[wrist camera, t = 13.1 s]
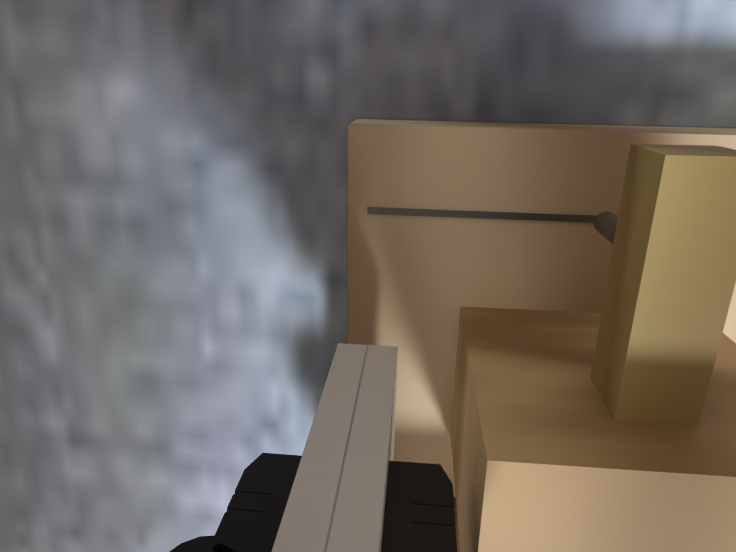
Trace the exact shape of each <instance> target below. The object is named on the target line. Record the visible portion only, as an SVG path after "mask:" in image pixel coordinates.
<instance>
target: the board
mask: <svg viewBox="0 0 736 552" xmlns="http://www.w3.org/2000/svg"><path fill="white" fill-rule="evenodd" d="M630 144H663V145H711V146H721V147H726V148H730V149H734V150H736V128H702V127H662V126H622V125H582V124H542V123H503V122H463V121H423V120H383V119H356V120H355V121H353V122H352V123H350V124H349V125H348V197H347V344H361V345H378V346H396V347H398V357H397V385H396V414H395V441H394V454H393V461H402V462H416V463H429V464H441V466H442V468H443V469H444V471H445V472H446V474H447V476H448V477H449V479H450V480H451V482H452V484H453V495H454V511H455V523H456V537H457V551H458V552H460V543H459V531H458V519H457V508H456V496H455V484H454V472H453V461H452V449H451V424H452V411H453V398H454V385H455V371H456V358H457V345H458V331H459V318H460V307H480V308H502V309H525V310H547V311H569V312H591V313H602V307H603V301H604V295H605V289H606V284H607V278H608V272H609V266H610V260H611V255H612V249H613V244H612V243H611V242H609V241H608V240H607V239H606V238H605V237H604V236H603V235H601V234H600V233H599V232H598V231H597V230H596V229H595V227H594V220H595V218H596V216H597V215H598V214H600V213H602V212H605V211H608V212H612V213H613V214H615V215H616V216H618V214H619V208H620V202H621V196H622V191H623V185H624V179H625V173H626V167H627V162H628V156H629V150H630ZM723 333H724V334H725V335H726V336H727V337H729V338H730V339H731V340H732V341H733V342H735V343H736V283H735V287H734V290H733V294H732V298H731V302H730V306H729V310H728V314H727V318H726V321H725V325H724V329H723Z"/></svg>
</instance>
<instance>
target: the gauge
mask: <svg viewBox="0 0 736 552" xmlns="http://www.w3.org/2000/svg"><path fill="white" fill-rule="evenodd" d="M594 227H595V229H596V230H597V231H598V232H599V233H600V234H601V235H603V236H604V237H605V238H606V239H607V240H608V241H609V242H611V243H612V244H613V249H612V255H611V260H610V266H609V272H608V278H607V284H606V289H605V295H604V301H603V307H602V313H591V312H569V311H547V310H525V309H502V308H480V307H460V318H459V331H458V345H457V358H456V371H455V385H454V398H453V411H452V424H451V449H452V461H453V472H454V484H455V496H456V508H457V519H458V531H459V543H460V552H736V343H735V342H733V341H732V340H731V339H730V338H729V337H727V336H726V335H725V334H724V333H723V329H724V325H725V321H726V318H727V314H728V310H729V306H730V302H731V298H732V294H733V290H734V287H735V283H736V150H734V149H730V148H726V147H721V146H711V145H663V144H630V150H629V156H628V162H627V167H626V173H625V179H624V185H623V191H622V196H621V202H620V208H619V214H618V216H616V215H615V214H613V213H612V212H608V211H605V212H602V213H600V214H598V215H597V216H596V218H595V220H594Z"/></svg>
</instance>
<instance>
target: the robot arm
mask: <svg viewBox="0 0 736 552" xmlns="http://www.w3.org/2000/svg"><path fill="white" fill-rule="evenodd" d="M397 357H398V347H396V346H378V345H361V344H343V343H338V345H337V348H336V351H335V354H334V358H333V361H332V364H331V367H330V370H329V373H328V376H327V379H326V383H325V386H324V389H323V392H322V395H321V398H320V401H319V405H318V408H317V411H316V414H315V417H314V420H313V423H312V426H311V430H310V433H309V436H308V439H307V442H306V445H305V448H304V452H303V455H302V456H297V455H284V454H270V453H262V454H261V455H260V456H259V457H258V458H257V459H256V460H255V461H254V462H252V463H251V464H250V465H249V466H248V467H247V468H246V469H245V470H244V472H243V474H242V476H241V479H240V481H239V483H238V485H237V487H236V490H235V495H233V496H232V499H231V501H230V503H229V505H228V507H227V512H225V514H224V516H223V518H222V521H221V523H220V525H219V527H218V529H217V532H216V534H215V536H202V537H198V538H195V539H192V540H190V541H187V542H184V543H181V544H180V545H178V546H177V547H176V548H174V549H173V550H171V551H170V552H458V551H457V537H456V523H455V511H454V495H453V484H452V482H451V480H450V479H449V477H448V476H447V474H446V472H445V471H444V469H443V468H442V466H441V464H429V463H416V462H402V461H393V454H394V441H395V414H396V385H397Z"/></svg>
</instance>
